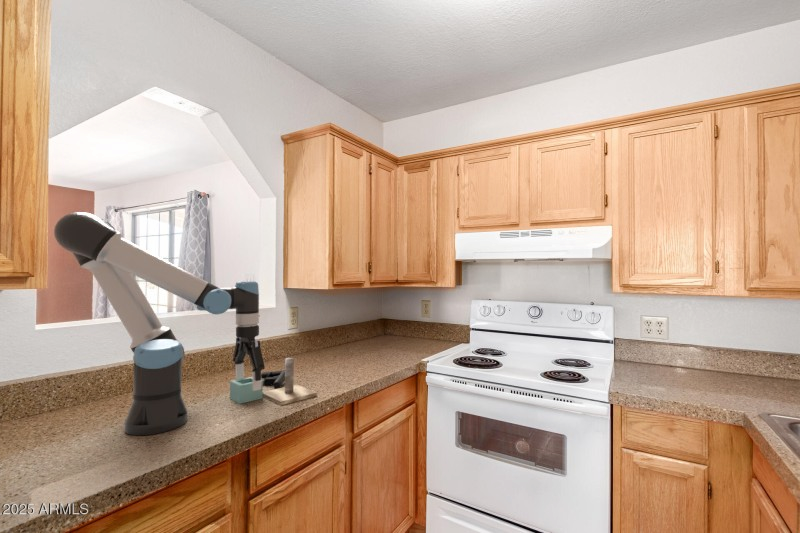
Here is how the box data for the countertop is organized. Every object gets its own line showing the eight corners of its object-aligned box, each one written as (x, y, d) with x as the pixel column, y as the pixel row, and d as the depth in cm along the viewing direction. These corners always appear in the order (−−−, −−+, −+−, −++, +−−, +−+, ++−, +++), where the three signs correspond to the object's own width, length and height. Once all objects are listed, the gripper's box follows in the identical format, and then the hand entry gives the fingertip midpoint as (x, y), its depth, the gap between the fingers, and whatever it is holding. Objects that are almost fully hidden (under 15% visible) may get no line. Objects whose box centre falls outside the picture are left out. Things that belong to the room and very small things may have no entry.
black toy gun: (239, 384, 140) (283, 380, 142) (253, 371, 160) (292, 368, 162) (239, 393, 140) (283, 389, 142) (253, 379, 160) (292, 375, 162)
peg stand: (280, 405, 124) (281, 365, 125) (261, 395, 134) (261, 358, 134) (316, 395, 134) (317, 358, 135) (296, 387, 144) (296, 353, 144)
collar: (239, 403, 125) (239, 385, 126) (229, 398, 131) (230, 381, 131) (262, 398, 131) (262, 381, 131) (252, 393, 137) (252, 376, 137)
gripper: (274, 327, 126) (275, 390, 125) (243, 321, 143) (243, 376, 143) (253, 329, 120) (253, 396, 120) (222, 323, 138) (223, 381, 137)
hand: (248, 385), depth 131 cm, fingers open, 13 cm apart
